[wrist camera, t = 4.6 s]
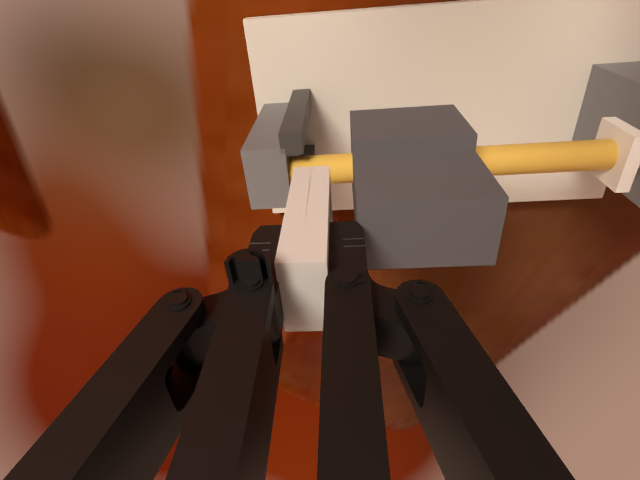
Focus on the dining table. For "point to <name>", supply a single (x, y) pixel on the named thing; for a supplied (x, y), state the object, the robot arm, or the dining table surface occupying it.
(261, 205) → the rod stand
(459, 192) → the grey sliding block
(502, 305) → the dining table surface
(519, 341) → the dining table surface
